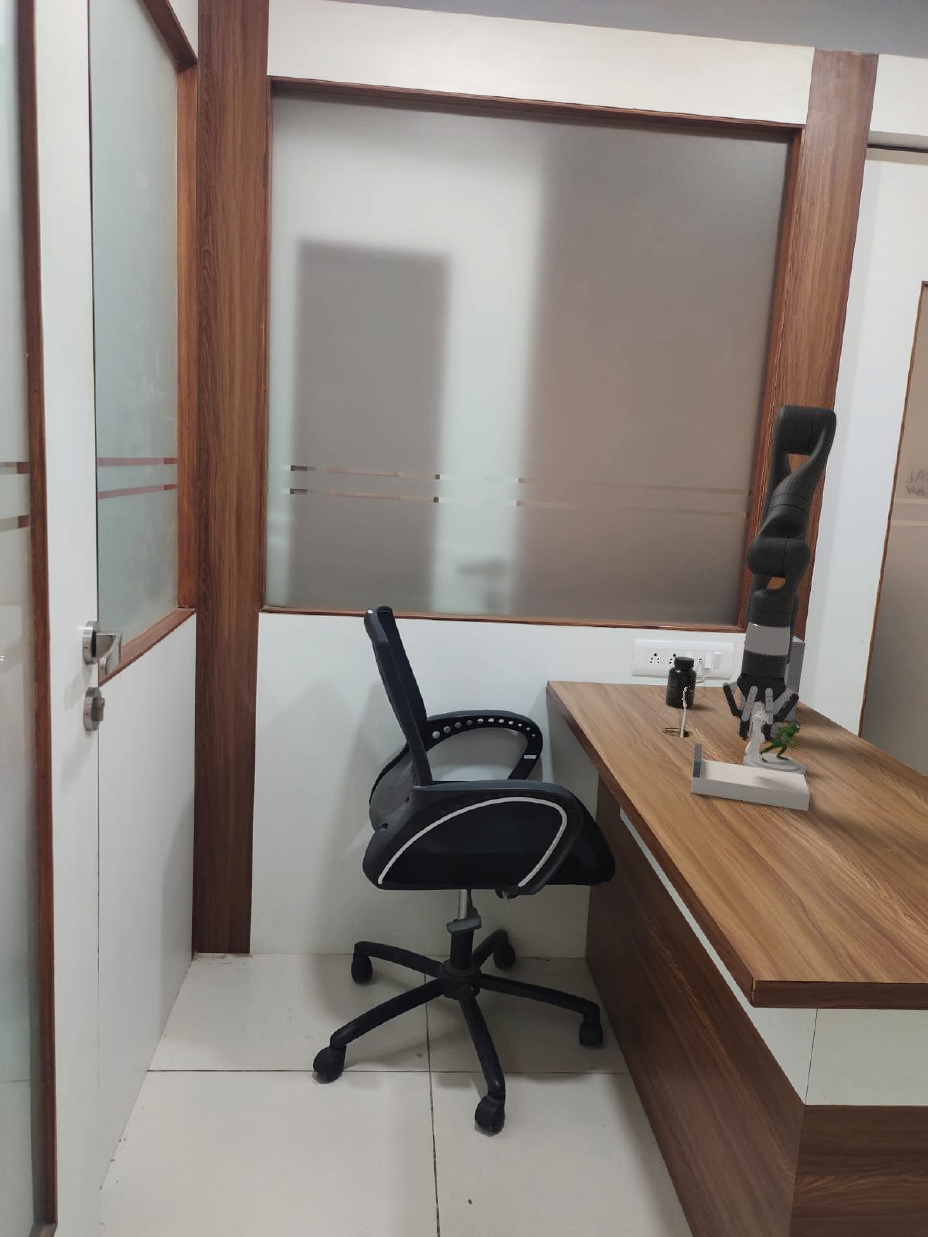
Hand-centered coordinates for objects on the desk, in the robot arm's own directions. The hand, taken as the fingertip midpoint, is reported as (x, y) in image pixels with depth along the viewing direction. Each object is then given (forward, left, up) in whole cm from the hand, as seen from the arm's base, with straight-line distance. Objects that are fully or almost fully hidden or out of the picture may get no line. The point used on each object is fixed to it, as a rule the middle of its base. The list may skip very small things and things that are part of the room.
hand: (753, 740), depth 158 cm
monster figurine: (-17, +6, -10) cm, 21 cm away
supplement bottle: (-57, -14, -10) cm, 59 cm away
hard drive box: (-61, +8, -10) cm, 63 cm away
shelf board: (0, 0, -10) cm, 10 cm away
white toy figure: (0, 0, -3) cm, 3 cm away
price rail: (0, -9, -7) cm, 12 cm away
